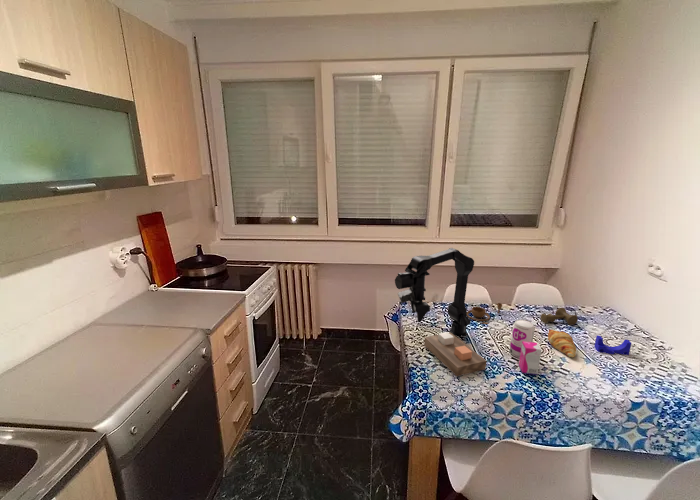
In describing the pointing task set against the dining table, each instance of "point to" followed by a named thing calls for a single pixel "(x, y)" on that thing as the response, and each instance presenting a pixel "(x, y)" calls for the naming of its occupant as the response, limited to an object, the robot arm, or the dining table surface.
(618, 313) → the dining table surface
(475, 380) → the dining table surface
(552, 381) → the dining table surface
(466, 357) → the terracotta plunger
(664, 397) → the dining table surface
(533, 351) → the supplement box
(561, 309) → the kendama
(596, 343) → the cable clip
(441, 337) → the white square block
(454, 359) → the button panel
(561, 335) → the croissant
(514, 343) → the supplement can
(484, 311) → the place setting
